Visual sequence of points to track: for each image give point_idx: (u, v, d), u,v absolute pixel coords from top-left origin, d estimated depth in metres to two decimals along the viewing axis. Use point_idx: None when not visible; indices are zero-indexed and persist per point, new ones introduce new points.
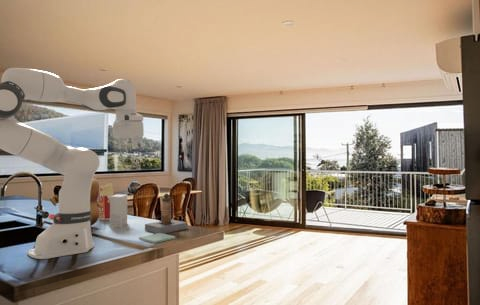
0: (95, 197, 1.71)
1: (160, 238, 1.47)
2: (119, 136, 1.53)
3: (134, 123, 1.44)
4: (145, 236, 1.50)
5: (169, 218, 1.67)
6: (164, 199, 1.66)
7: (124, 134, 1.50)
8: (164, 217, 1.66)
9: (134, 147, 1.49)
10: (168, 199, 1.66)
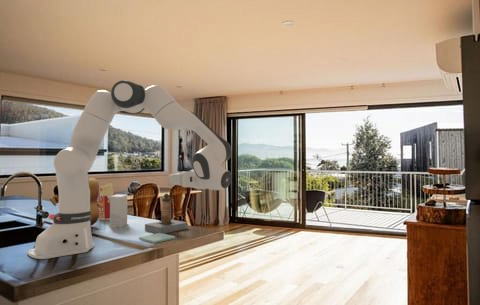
0: (95, 197, 1.71)
1: (160, 238, 1.47)
2: None
3: (178, 175, 1.42)
4: (145, 236, 1.50)
5: (169, 218, 1.67)
6: (164, 199, 1.66)
7: None
8: (164, 217, 1.66)
9: None
10: (168, 199, 1.66)
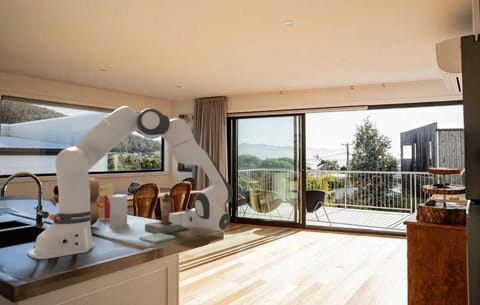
0: (95, 197, 1.71)
1: (160, 238, 1.47)
2: None
3: (178, 214, 1.47)
4: (145, 236, 1.50)
5: None
6: (164, 199, 1.66)
7: None
8: (164, 217, 1.66)
9: None
10: (168, 199, 1.66)
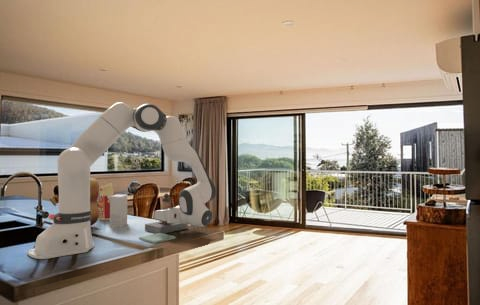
0: (95, 197, 1.71)
1: (160, 238, 1.47)
2: None
3: (163, 211, 1.54)
4: (145, 236, 1.50)
5: None
6: (164, 199, 1.66)
7: None
8: None
9: None
10: (168, 199, 1.66)
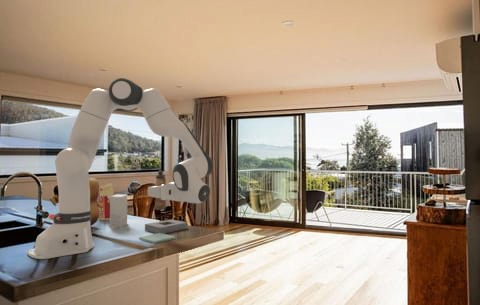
0: (95, 197, 1.71)
1: (160, 238, 1.47)
2: None
3: (157, 187, 1.43)
4: (145, 236, 1.50)
5: None
6: (158, 176, 1.55)
7: None
8: None
9: None
10: (162, 176, 1.55)
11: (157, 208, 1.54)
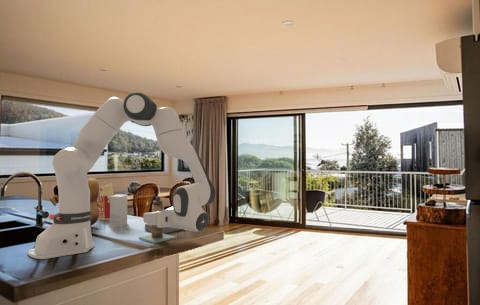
0: (95, 197, 1.71)
1: (160, 238, 1.47)
2: None
3: (153, 214, 1.36)
4: (145, 236, 1.50)
5: None
6: (155, 203, 1.48)
7: None
8: None
9: None
10: (160, 203, 1.48)
11: (154, 236, 1.47)
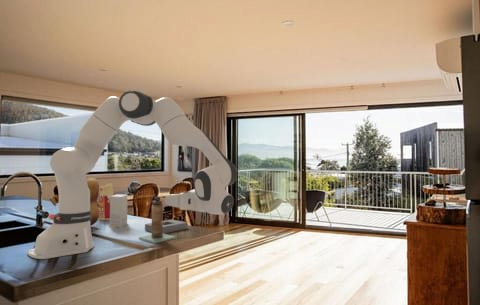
0: (95, 197, 1.71)
1: (160, 238, 1.47)
2: None
3: (175, 196, 1.32)
4: (145, 236, 1.50)
5: (160, 224, 1.48)
6: (155, 203, 1.48)
7: None
8: (155, 223, 1.47)
9: None
10: (159, 203, 1.48)
11: (154, 236, 1.47)
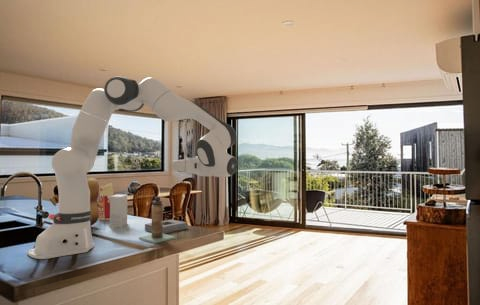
0: (95, 197, 1.71)
1: (160, 238, 1.47)
2: None
3: (182, 161, 1.37)
4: (145, 236, 1.50)
5: (160, 224, 1.48)
6: (155, 203, 1.48)
7: None
8: (155, 223, 1.47)
9: None
10: (159, 203, 1.48)
11: (154, 236, 1.47)
